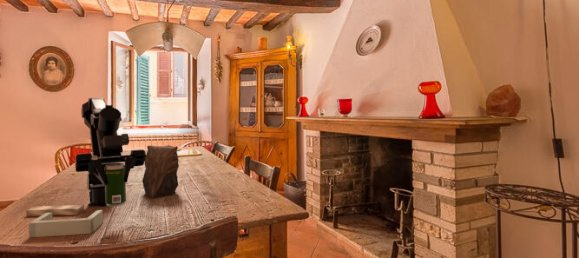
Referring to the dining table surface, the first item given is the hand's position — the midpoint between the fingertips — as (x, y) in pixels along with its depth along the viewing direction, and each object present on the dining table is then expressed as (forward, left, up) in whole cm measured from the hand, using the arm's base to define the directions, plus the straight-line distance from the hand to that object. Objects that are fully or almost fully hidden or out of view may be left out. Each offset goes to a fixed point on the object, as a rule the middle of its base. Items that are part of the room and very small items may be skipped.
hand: (115, 183), depth 96 cm
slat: (+29, -12, -14) cm, 34 cm away
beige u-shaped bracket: (+14, +1, -14) cm, 19 cm away
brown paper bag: (+6, -38, -14) cm, 41 cm away
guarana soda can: (+1, -1, -7) cm, 7 cm away
